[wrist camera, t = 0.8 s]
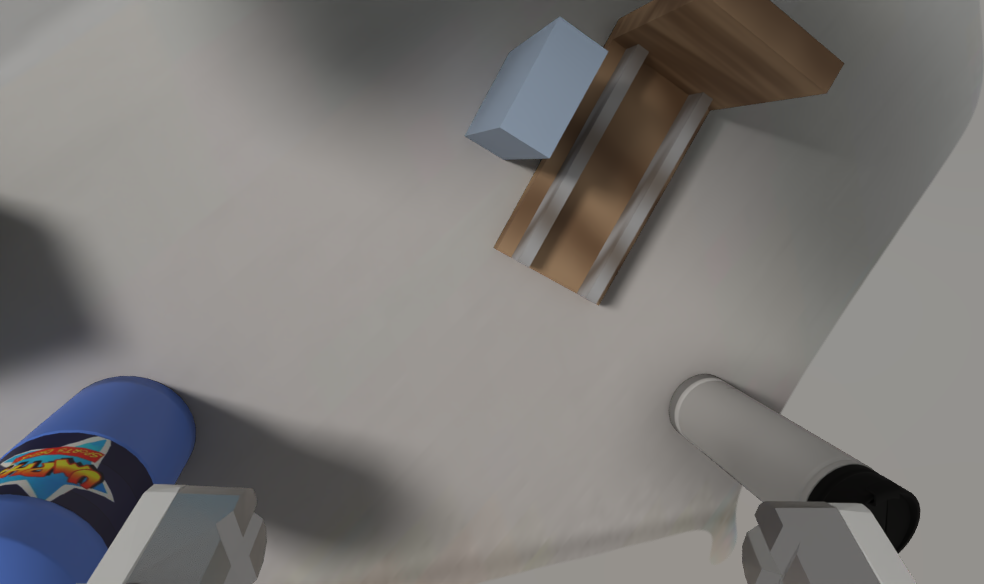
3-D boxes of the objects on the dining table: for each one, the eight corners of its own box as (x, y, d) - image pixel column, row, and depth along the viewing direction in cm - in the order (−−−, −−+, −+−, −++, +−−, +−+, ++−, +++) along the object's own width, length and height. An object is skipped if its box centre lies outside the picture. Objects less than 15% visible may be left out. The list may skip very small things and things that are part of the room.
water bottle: (60, 367, 40) (-358, 657, 17) (204, 380, 43) (17, 651, 19) (52, 487, 42) (-340, 909, 18) (191, 494, 44) (5, 873, 21)
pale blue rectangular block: (503, 159, 44) (549, 158, 34) (464, 135, 43) (499, 127, 33) (547, 78, 44) (608, 51, 33) (509, 52, 43) (559, 16, 32)
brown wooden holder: (593, 302, 49) (675, 350, 36) (493, 247, 46) (545, 279, 33) (714, 90, 47) (844, 63, 35) (619, 18, 44) (724, -39, 32)
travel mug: (725, 362, 53) (932, 473, 34) (729, 426, 55) (928, 566, 36) (664, 378, 52) (842, 503, 33) (670, 443, 54) (843, 597, 35)
